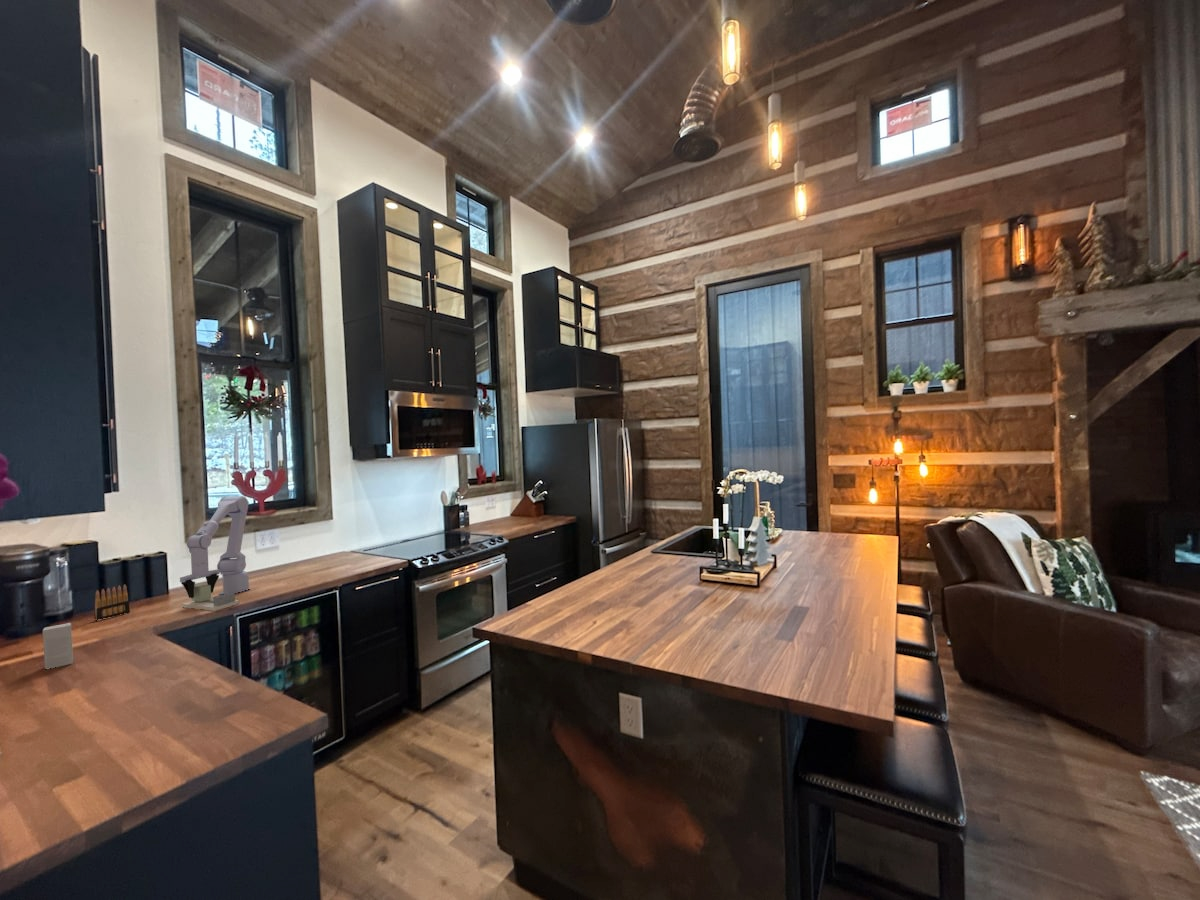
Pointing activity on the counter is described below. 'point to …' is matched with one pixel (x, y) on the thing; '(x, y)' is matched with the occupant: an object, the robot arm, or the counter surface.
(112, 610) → the ammunition clip
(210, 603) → the track board
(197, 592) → the keeper
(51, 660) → the skincare box
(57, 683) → the counter surface
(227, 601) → the end stop
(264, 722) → the counter surface
